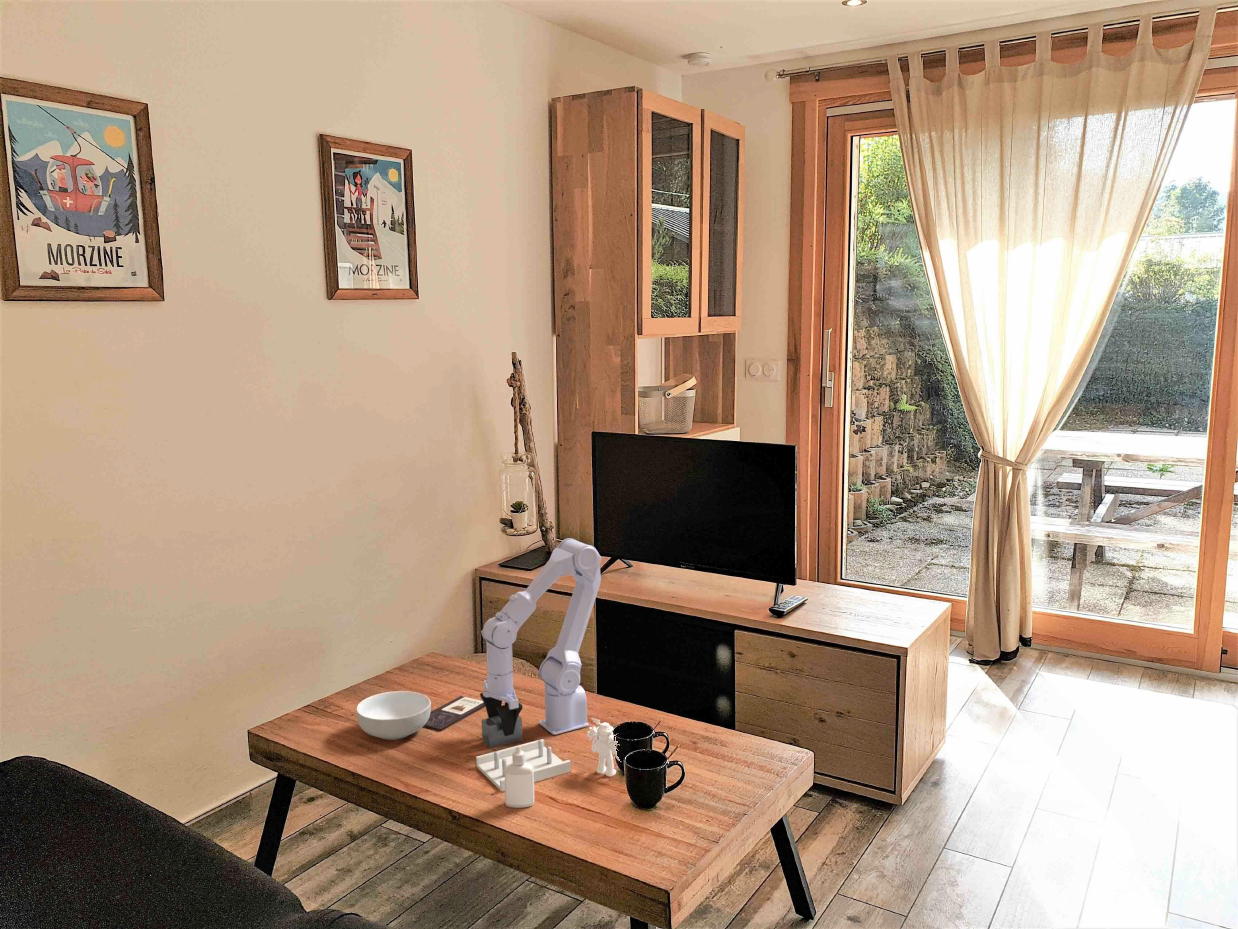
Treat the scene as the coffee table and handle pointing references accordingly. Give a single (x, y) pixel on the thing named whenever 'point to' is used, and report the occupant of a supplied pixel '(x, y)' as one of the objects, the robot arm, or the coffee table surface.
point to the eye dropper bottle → (519, 781)
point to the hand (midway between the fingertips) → (501, 728)
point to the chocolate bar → (453, 712)
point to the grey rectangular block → (499, 732)
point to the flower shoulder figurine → (604, 746)
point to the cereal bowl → (393, 714)
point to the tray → (534, 755)
